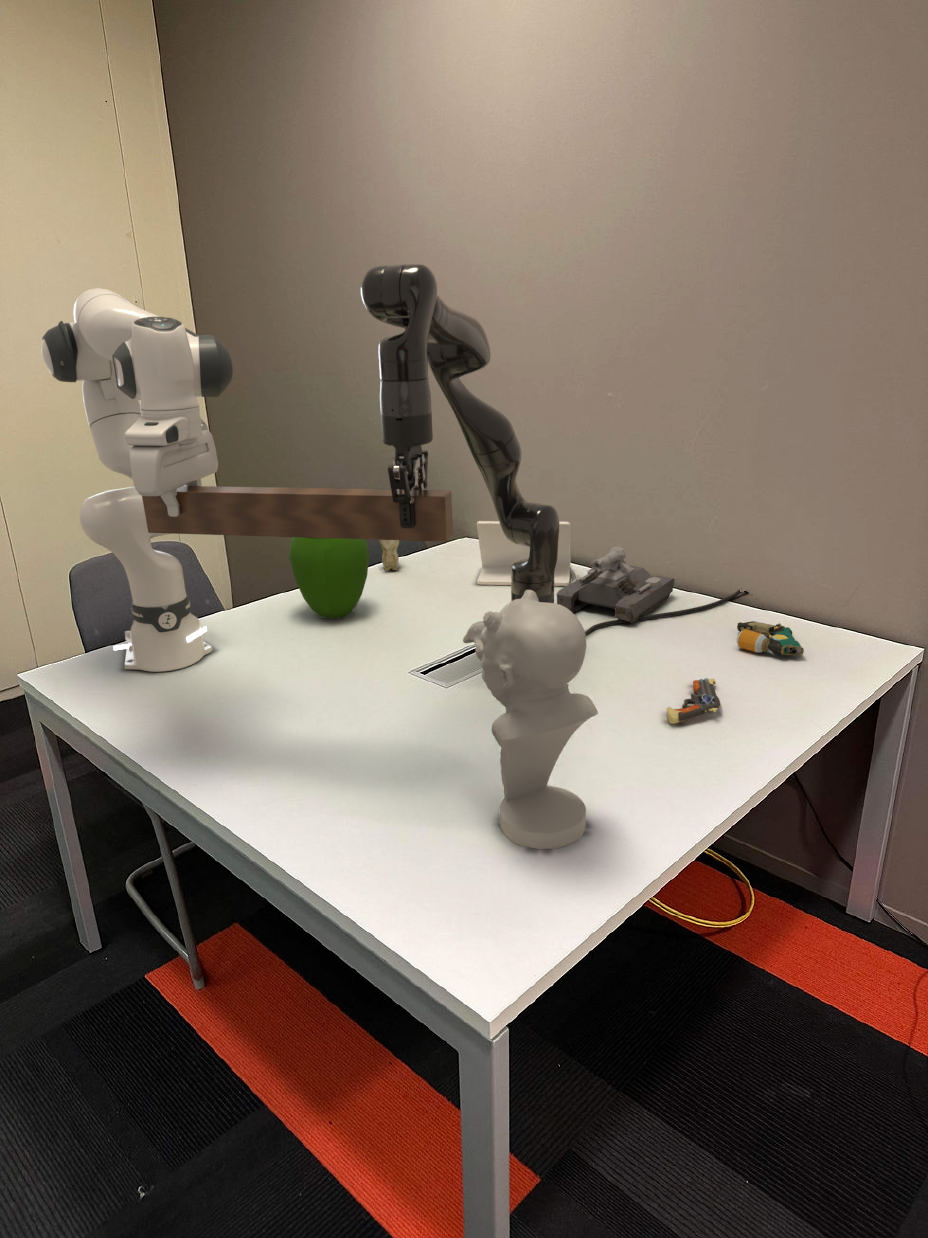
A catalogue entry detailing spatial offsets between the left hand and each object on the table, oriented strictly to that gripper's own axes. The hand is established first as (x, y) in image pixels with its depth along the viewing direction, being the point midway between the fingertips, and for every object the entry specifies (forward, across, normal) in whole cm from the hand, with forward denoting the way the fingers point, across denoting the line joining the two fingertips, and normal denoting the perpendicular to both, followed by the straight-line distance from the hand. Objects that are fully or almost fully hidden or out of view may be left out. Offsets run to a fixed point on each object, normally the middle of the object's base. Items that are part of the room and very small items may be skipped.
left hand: (184, 511), depth 140 cm
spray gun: (+41, -60, +102) cm, 125 cm away
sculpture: (+42, -103, +2) cm, 111 cm away
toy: (+42, -81, +67) cm, 113 cm away
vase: (+42, -64, -1) cm, 77 cm away
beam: (+3, 0, +19) cm, 20 cm away
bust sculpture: (+41, +15, +58) cm, 73 cm away
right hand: (0, 0, +39) cm, 39 cm away
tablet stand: (+42, -102, +41) cm, 118 cm away
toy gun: (+41, -27, +84) cm, 98 cm away
